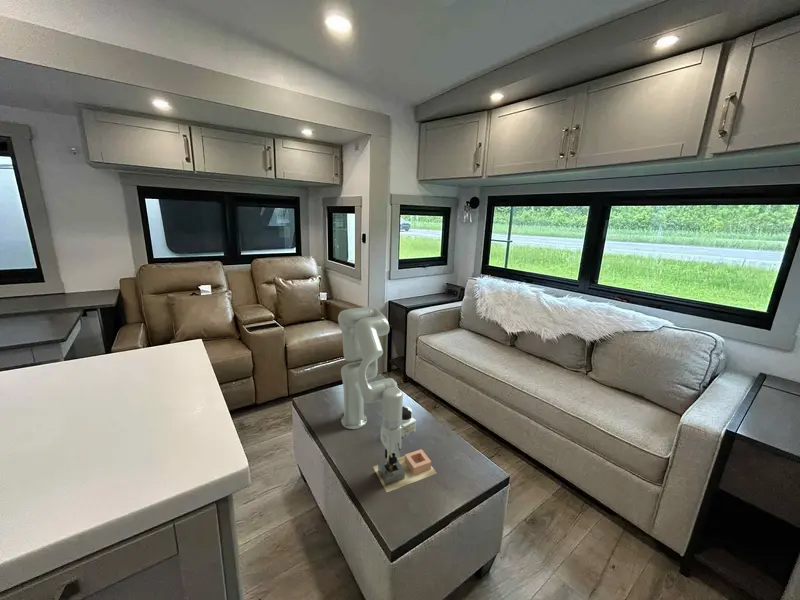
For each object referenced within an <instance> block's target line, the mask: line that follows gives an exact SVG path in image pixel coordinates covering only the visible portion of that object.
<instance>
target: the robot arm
mask: <svg viewBox="0 0 800 600" xmlns="http://www.w3.org/2000/svg"><path fill="white" fill-rule="evenodd" d="M337 321H338V325H339V327H340V328H339V329H340V330H341V334H342V347H343V348H342V350H343V358H344V360H345V361H346V362H349V363H347V364H345V365H343V366H342V367H341V369H340V376H341V380H342V385H343V386H342V388H343V412H344V413H343V414H344V415H343V416H342V418H341V420H340V422H341V423H340V424H341V425H342V426H343V427H344V428H345V429H348V430H358V429H361V428H362V427H364V426H366V424H367V422H368V419H367V418H368V417H367V416H366V415H365V414H364V413H365V411H364V405H365V404H364V402H365V403H366V404H373V403H377V402H381V401H382V403H381V404H382V405H381V424H380V441H381V443H382V444H383V446H384V458H385V459H387V451H388V452H389V453H390V456H389V465H392V464H395V463H397V458H400V457H401V453H400V451H401V450H402V443H403V442H402V438H403V437H402V436H401V425H402V407H403V403H404V402H403V399H404V396H403V391H402V390H401V389H399V387H398V383H397V381H396V380H395V379H394V378H392V377H387V378H383V379H379V380H375V381H371V382H368V380H372V379H375V378H376V377H377V376H378V359H379V358H381V357H382V355H383V354H384V350H383V347H382V343H381V340H380V337H382V336H386V335H388V334H389V333H390V331H391V330H390V324H389V321H388V319H387V317H386V316H385V315H384V314H383V312H381V311H380V310H379V309H378V308H377V307H375V306H364V307H363V306H362V307H357V308H356V307H355V308H348V309H344V310H341V311H340V312H339V314H338V316H337ZM394 451H395V453H393V452H394ZM392 453H393V454H392Z"/></svg>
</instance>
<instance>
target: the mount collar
mask: <svg viewBox="0 0 800 600" xmlns="http://www.w3.org/2000/svg"><path fill="white" fill-rule="evenodd" d="M377 465H378V472H379V474H380V476H381V478H382V479H383V481H384V483H385V485H389V484H392V483H394V482H397V481H400V480H403V479H405V471H404V469H403V468H402V466H401V465H400V463H399V461H398V460H397V463H395V467H394V470H395V471H393V472H390V473H388V472H387V471H390V470H388V469H387V460H385V461H381V462H379V463H377Z"/></svg>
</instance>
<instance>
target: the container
mask: <svg viewBox="0 0 800 600" xmlns="http://www.w3.org/2000/svg"><path fill="white" fill-rule="evenodd" d="M416 427H417V419H415V418H414V417H413V409H412V408H411V407H409V406H405V405H404V406H403V405H402V425H401V438H403V439H405V438H406V437H407V436H409V435H412V434H413V433H415V432H416V431H417V429H416Z"/></svg>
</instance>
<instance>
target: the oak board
mask: <svg viewBox="0 0 800 600" xmlns="http://www.w3.org/2000/svg"><path fill="white" fill-rule="evenodd" d="M397 460H398V461H399V463H400V465H401V466H402V468H403V469H404V471H405V479H403V480H400V481H397V482H394V483H392V484H389V485H385V483H384V481H383V479H382V478H381V476H380V474H379V472H378V464H377V465H373V466H372V468H373V469H374V472H375V473H376V475H377V477H378V479H379V481H380V483H381V485H382V486H383V488H384V490H385V493H389V492H392V491H395V490H397V489H400V488H402V487H405V486H408V485H410V484H412V483H416V482H418V481H422V480H423V479H426V478H429V477H431V476H434V475H436V474H437V475H438V473H437V471H436V470H435V468H434V467H433V466H432V465H431V469H429V470H427V471H424V472H421V473H419V474H416V475H413V474H412V472H411V471H410V469H409V468H408V466H407V465H406V463H405V455H403V456H400V457H398V458H397ZM419 462H421V461H420V460H418V461H415V463H419ZM393 471H395V470H392V471H387V472H388V473H390V472H393Z"/></svg>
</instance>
